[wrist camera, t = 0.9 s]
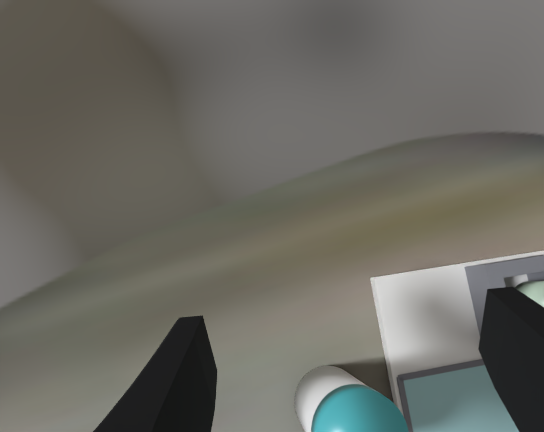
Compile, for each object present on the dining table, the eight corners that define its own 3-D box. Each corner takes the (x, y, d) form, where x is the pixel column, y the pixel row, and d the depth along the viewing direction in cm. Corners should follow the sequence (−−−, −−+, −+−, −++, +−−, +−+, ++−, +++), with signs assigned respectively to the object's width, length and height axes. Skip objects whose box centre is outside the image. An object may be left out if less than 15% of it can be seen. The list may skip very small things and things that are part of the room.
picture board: (634, 458, 24) (683, 478, 21) (413, 510, 22) (438, 538, 19) (576, 245, 25) (616, 240, 23) (369, 277, 24) (387, 276, 21)
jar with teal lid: (368, 431, 22) (418, 481, 16) (299, 445, 22) (326, 502, 16) (355, 359, 23) (399, 382, 17) (288, 371, 22) (309, 399, 17)
